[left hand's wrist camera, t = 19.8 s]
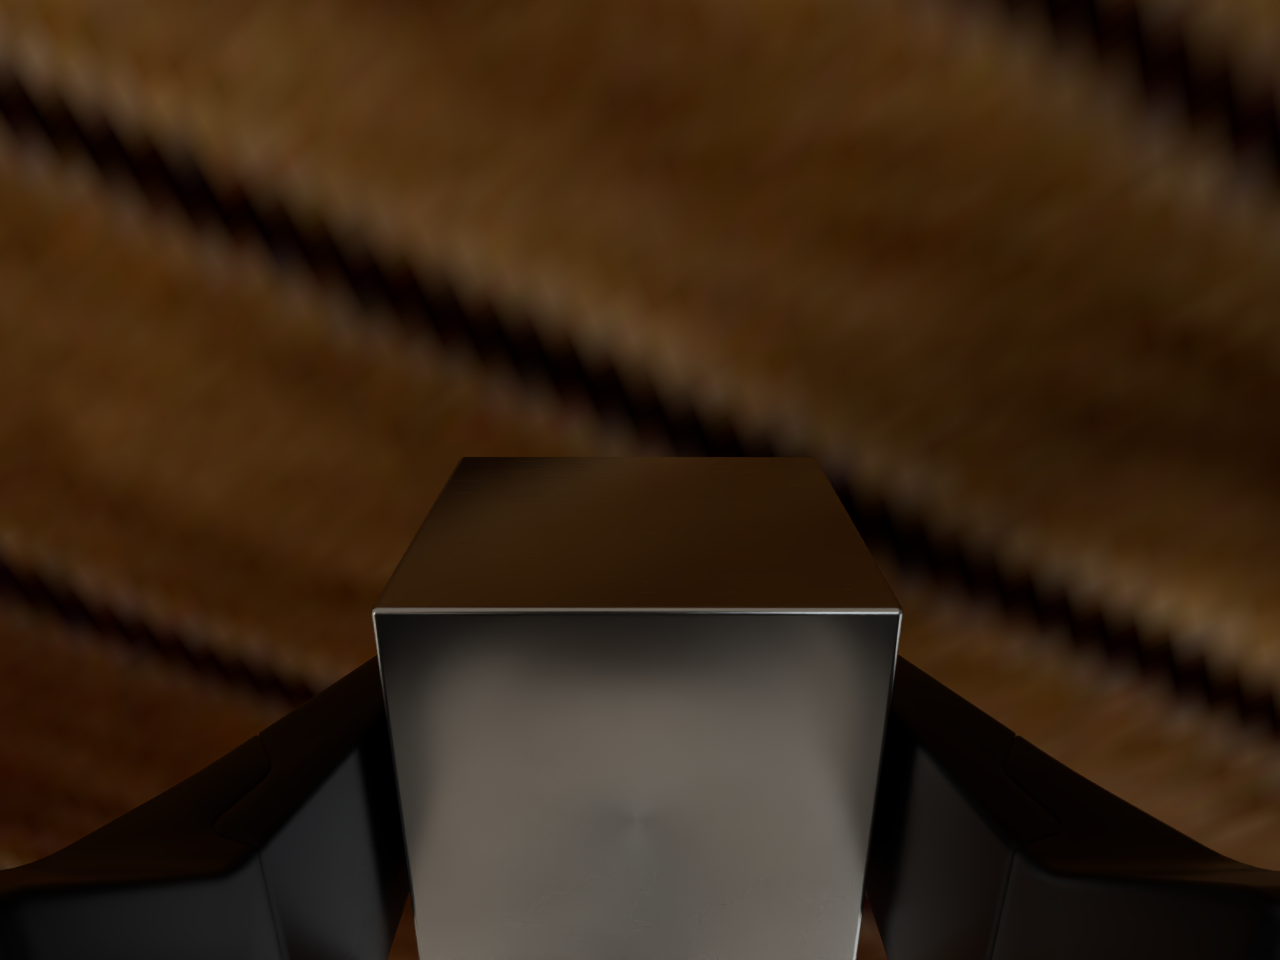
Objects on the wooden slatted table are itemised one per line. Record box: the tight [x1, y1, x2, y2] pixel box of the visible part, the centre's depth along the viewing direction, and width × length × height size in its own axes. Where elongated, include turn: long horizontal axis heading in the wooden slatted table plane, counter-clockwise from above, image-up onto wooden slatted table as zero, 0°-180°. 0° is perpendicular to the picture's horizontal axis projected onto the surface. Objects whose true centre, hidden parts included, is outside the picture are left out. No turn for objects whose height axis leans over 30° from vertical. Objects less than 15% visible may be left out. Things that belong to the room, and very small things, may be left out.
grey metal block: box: [371, 457, 903, 960], centre depth 11 cm, size 5×5×4 cm
